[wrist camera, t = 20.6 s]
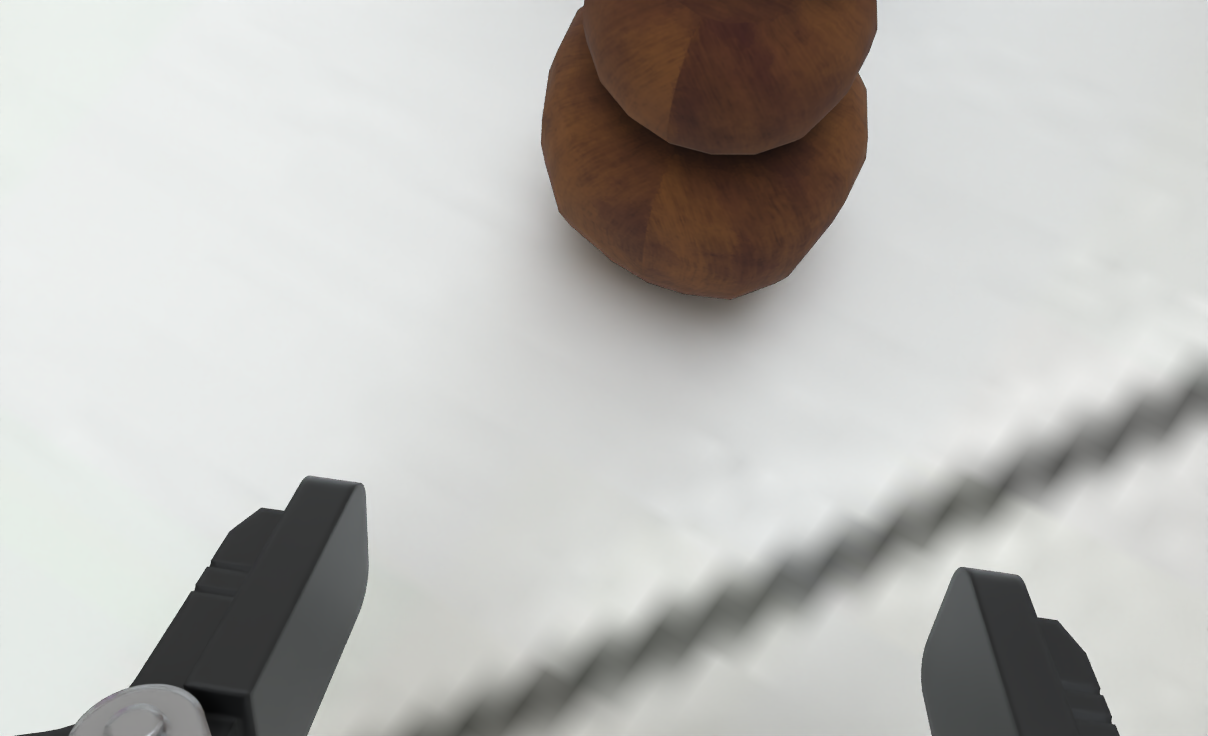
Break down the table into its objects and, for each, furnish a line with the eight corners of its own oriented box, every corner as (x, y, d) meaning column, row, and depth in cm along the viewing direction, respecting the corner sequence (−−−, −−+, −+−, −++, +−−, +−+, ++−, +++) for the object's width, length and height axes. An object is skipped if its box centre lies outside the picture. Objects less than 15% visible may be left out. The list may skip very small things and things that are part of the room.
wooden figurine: (846, 175, 26) (1153, -357, 11) (756, 364, 25) (969, 45, 10) (617, 73, 27) (629, -552, 12) (520, 253, 26) (403, -196, 11)
